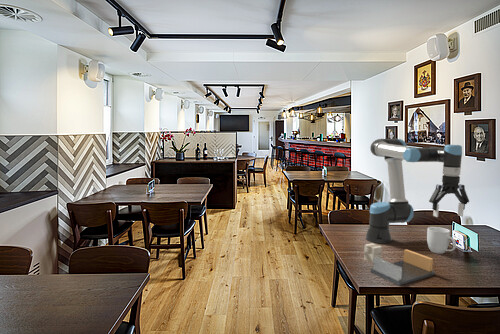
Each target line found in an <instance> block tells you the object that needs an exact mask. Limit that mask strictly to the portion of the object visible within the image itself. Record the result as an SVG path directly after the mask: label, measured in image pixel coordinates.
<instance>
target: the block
mask: <svg viewBox="0 0 500 334" xmlns="http://www.w3.org/2000/svg"><path fill="white" fill-rule="evenodd" d="M363 248H364V253H363V254H364V255H363V260H364V261H367V262H369V263H372V264H373V261H374V257H378V258H380V259H382V248H383V246H382V245H378V244H377V243H375V242H372V243H366V244H364V247H363Z"/></svg>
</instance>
